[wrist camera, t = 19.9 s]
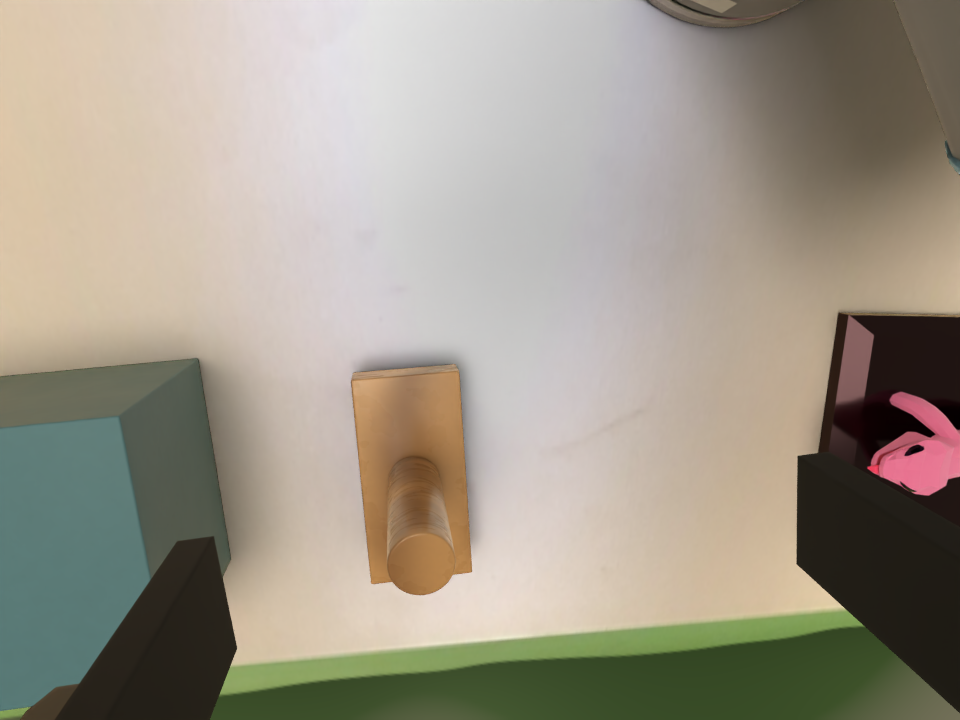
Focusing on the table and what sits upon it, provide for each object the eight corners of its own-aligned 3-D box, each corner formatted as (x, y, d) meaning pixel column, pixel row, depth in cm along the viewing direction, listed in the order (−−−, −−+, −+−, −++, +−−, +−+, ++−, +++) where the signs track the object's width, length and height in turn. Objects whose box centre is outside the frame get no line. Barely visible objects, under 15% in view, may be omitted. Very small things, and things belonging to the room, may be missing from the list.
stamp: (453, 358, 38) (482, 421, 27) (466, 544, 41) (497, 680, 29) (353, 366, 38) (337, 435, 26) (372, 555, 40) (365, 698, 28)
